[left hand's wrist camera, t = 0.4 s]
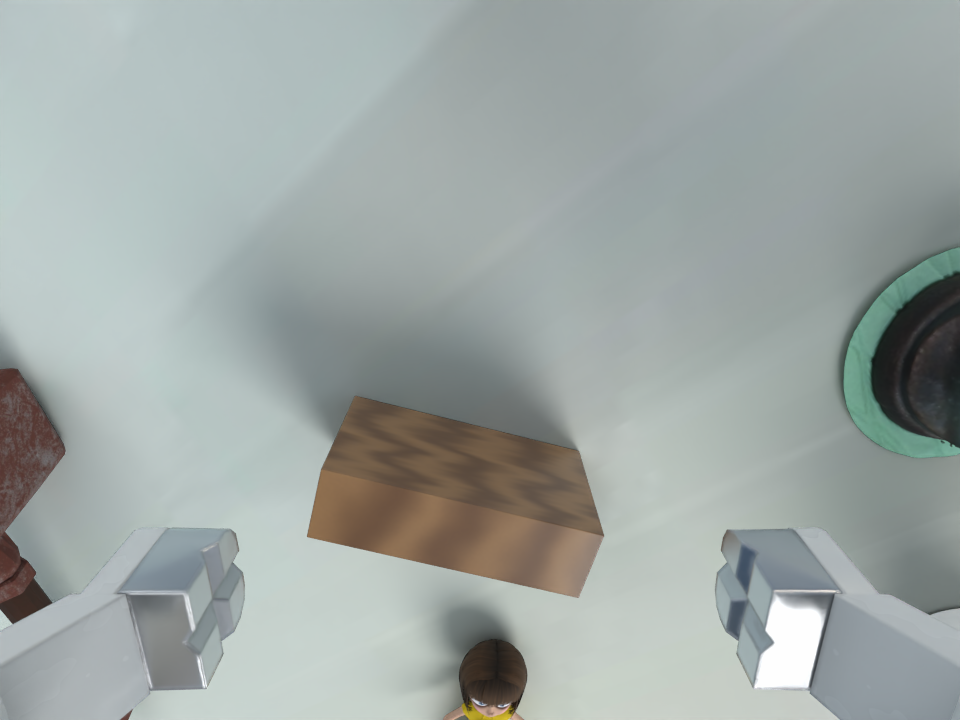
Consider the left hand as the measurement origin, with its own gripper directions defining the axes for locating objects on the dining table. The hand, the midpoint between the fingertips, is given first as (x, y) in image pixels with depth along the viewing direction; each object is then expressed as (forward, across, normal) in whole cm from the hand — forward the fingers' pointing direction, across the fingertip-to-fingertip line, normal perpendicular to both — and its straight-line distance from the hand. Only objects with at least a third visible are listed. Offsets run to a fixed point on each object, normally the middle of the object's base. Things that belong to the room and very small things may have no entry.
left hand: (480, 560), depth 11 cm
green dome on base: (+43, -42, +13) cm, 62 cm away
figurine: (+43, 0, +56) cm, 70 cm away
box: (+43, +2, +22) cm, 49 cm away
